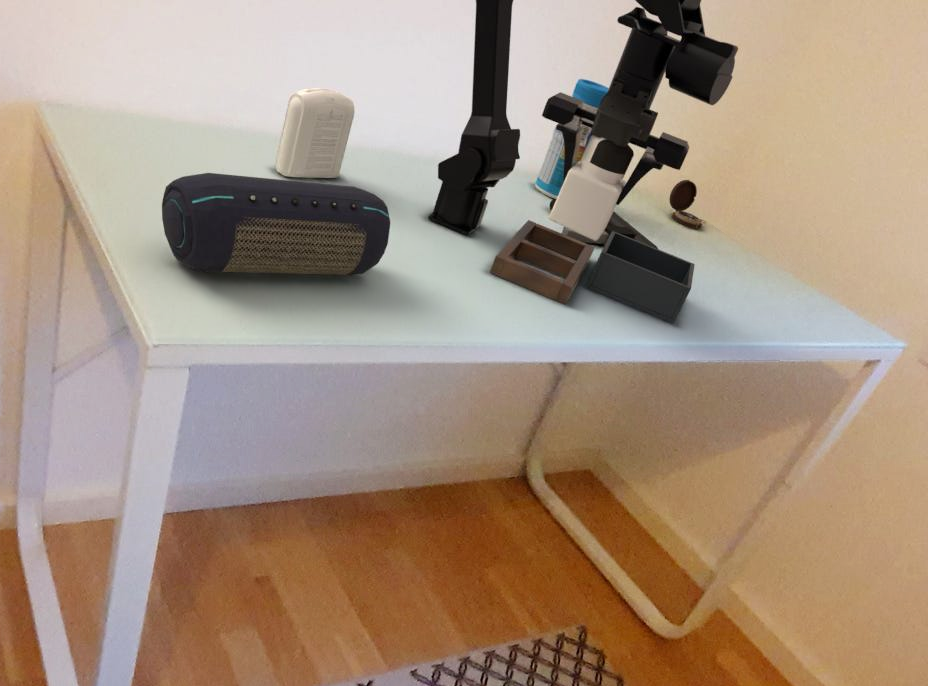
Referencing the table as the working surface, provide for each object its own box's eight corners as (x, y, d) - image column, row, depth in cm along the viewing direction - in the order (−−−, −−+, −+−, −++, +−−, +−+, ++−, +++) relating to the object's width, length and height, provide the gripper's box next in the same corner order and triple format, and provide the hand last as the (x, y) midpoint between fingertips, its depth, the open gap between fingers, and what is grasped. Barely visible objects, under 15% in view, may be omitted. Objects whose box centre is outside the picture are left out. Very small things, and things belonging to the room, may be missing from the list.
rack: (489, 272, 114) (495, 256, 113) (522, 234, 132) (528, 219, 130) (565, 304, 113) (572, 288, 111) (588, 261, 130) (595, 247, 129)
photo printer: (325, 168, 129) (344, 86, 123) (342, 180, 127) (363, 97, 121) (269, 167, 122) (286, 81, 116) (286, 180, 120) (305, 92, 114)
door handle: (588, 242, 130) (670, 249, 137) (531, 191, 145) (608, 199, 152) (581, 262, 132) (662, 268, 139) (525, 209, 146) (602, 217, 153)
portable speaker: (177, 289, 84) (192, 194, 79) (147, 243, 91) (159, 153, 86) (390, 291, 99) (414, 212, 94) (352, 252, 106) (372, 175, 101)
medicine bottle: (605, 229, 118) (643, 146, 112) (596, 242, 112) (636, 156, 106) (558, 208, 119) (594, 125, 112) (547, 219, 112) (584, 132, 106)
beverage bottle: (524, 183, 156) (564, 74, 146) (552, 184, 162) (592, 78, 152) (557, 203, 152) (600, 92, 142) (585, 203, 158) (628, 96, 148)
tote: (585, 287, 120) (601, 252, 118) (597, 263, 131) (612, 230, 128) (673, 324, 119) (691, 288, 116) (678, 297, 129) (694, 263, 127)
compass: (684, 228, 165) (701, 192, 161) (660, 211, 171) (676, 176, 167) (713, 232, 169) (730, 198, 165) (689, 215, 175) (705, 182, 171)
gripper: (556, 51, 99) (512, 178, 107) (707, 109, 97) (651, 234, 105) (573, 46, 109) (531, 163, 117) (711, 99, 106) (658, 214, 114)
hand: (591, 193), depth 113 cm, fingers closed on medicine bottle, 7 cm apart
